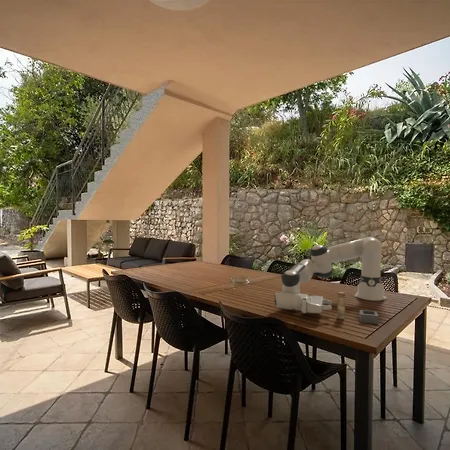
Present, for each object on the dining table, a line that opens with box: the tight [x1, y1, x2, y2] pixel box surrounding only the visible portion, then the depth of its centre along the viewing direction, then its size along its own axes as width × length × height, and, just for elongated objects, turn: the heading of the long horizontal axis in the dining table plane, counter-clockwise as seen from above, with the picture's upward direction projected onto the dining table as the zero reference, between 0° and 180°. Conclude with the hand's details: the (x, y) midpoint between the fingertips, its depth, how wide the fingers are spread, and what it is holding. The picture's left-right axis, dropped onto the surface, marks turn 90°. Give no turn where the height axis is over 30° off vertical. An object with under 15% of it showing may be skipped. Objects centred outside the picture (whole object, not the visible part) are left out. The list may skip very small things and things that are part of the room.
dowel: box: [336, 291, 346, 320], centre depth 166 cm, size 4×4×13 cm
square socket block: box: [358, 309, 379, 325], centre depth 162 cm, size 8×8×4 cm
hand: (331, 305), depth 167 cm, fingers open, 8 cm apart
